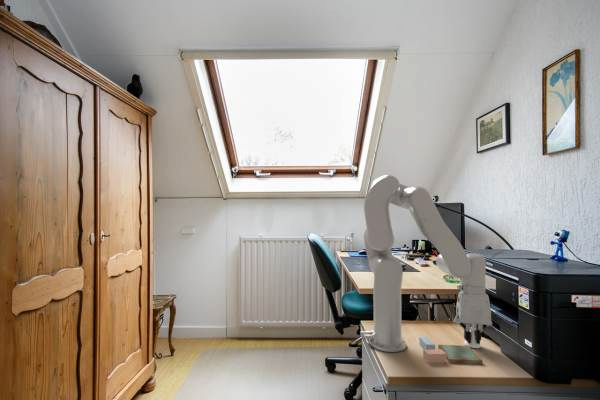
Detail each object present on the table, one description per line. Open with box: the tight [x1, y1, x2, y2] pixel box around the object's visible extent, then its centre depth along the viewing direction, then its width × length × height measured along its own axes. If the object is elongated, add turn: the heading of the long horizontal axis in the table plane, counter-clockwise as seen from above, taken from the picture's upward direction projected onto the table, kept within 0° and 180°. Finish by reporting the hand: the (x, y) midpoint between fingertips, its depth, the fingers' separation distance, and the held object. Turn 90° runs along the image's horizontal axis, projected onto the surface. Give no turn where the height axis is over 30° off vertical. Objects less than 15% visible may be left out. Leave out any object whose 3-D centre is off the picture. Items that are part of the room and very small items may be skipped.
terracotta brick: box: [422, 348, 447, 364], centre depth 99 cm, size 6×3×3 cm, turn 94°
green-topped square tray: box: [437, 344, 483, 365], centre depth 102 cm, size 10×10×1 cm
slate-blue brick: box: [418, 336, 436, 350], centre depth 107 cm, size 6×3×3 cm, turn 0°
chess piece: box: [464, 324, 482, 349], centre depth 109 cm, size 5×5×10 cm
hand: (472, 341), depth 109 cm, fingers closed on chess piece
